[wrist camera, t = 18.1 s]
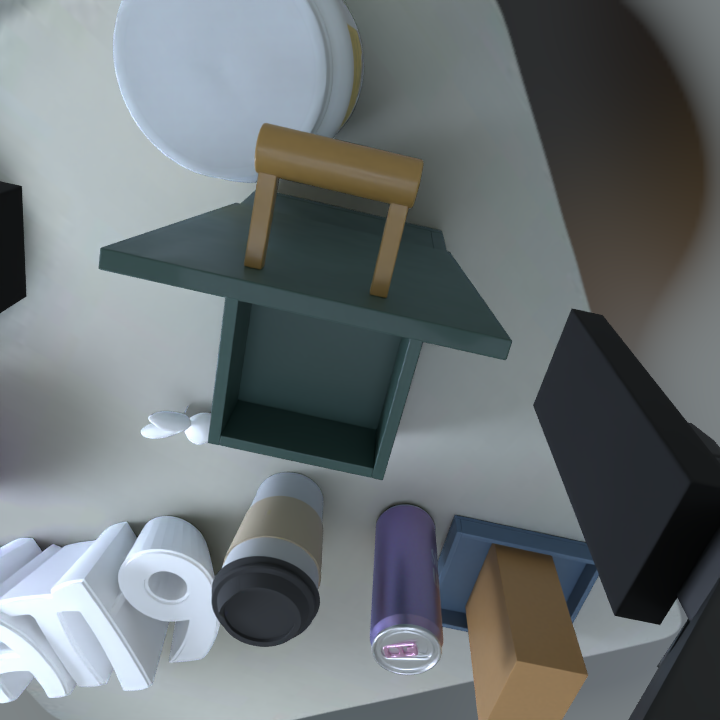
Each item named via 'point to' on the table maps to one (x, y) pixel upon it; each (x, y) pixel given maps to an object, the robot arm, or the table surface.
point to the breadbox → (313, 372)
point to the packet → (522, 639)
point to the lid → (321, 250)
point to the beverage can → (406, 592)
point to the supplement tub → (235, 75)
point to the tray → (476, 536)
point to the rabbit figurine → (178, 426)
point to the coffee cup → (273, 564)
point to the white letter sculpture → (103, 607)
